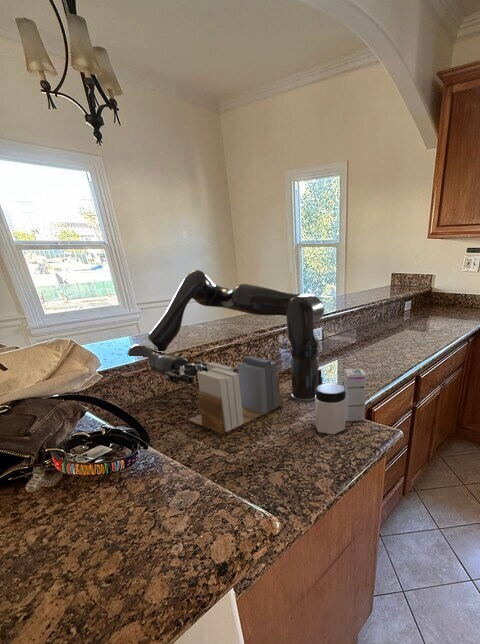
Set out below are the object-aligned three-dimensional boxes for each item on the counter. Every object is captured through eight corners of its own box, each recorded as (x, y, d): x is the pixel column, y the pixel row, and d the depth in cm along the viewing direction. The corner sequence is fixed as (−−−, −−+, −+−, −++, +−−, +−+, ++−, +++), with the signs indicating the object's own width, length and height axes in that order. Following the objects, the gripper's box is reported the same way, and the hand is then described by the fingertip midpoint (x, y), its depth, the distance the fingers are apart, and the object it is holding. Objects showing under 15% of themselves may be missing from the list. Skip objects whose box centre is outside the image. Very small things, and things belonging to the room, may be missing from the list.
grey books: (258, 399, 116) (254, 353, 110) (278, 406, 112) (276, 358, 105) (241, 407, 111) (236, 359, 104) (262, 414, 106) (258, 364, 99)
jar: (347, 433, 98) (349, 393, 92) (319, 436, 96) (319, 395, 91) (339, 419, 105) (341, 381, 100) (313, 421, 104) (312, 383, 99)
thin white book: (218, 408, 110) (212, 361, 103) (238, 415, 105) (233, 367, 99) (213, 410, 108) (206, 363, 102) (233, 418, 104) (227, 369, 97)
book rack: (248, 396, 121) (245, 366, 116) (281, 407, 113) (280, 375, 108) (188, 421, 103) (182, 387, 98) (222, 436, 95) (218, 399, 91)
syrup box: (364, 420, 105) (367, 374, 99) (345, 421, 104) (346, 374, 98) (361, 412, 110) (363, 368, 104) (342, 413, 109) (344, 368, 103)
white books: (222, 415, 105) (216, 366, 99) (243, 423, 101) (238, 372, 94) (204, 423, 100) (196, 372, 94) (226, 432, 96) (219, 379, 89)
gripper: (149, 360, 108) (182, 370, 99) (189, 350, 118) (222, 359, 110) (154, 383, 111) (186, 395, 103) (193, 372, 121) (224, 382, 113)
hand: (204, 376), depth 106 cm, fingers open, 8 cm apart
